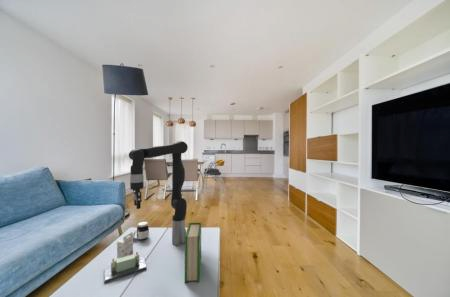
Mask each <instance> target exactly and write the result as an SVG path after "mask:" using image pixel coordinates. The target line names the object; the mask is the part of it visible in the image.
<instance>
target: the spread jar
mask: <svg viewBox="0 0 450 297" xmlns="http://www.w3.org/2000/svg"><path fill="white" fill-rule="evenodd" d="M148 223H149V222H147V221H142V222H141V221H140V222H139V223H138V224H137V226H136V229H135V230H134V232H133V240H134V238H135V236H136V239H137V241H145V240H147V239H148V238H149V237H150V228H149V225H148Z"/></svg>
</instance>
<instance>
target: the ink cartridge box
mask: <svg viewBox="0 0 450 297" xmlns="http://www.w3.org/2000/svg"><path fill="white" fill-rule="evenodd" d="M133 233H134V232H133V231H132V232H130V233H128V234H127V235H125V236H123V237H122V238H121V239H119V240H118V241H117V242H116V259H118V258H122V257H125V256H129V255H132V254H134V239H133Z"/></svg>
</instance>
